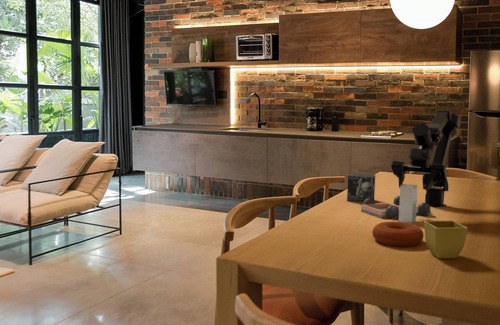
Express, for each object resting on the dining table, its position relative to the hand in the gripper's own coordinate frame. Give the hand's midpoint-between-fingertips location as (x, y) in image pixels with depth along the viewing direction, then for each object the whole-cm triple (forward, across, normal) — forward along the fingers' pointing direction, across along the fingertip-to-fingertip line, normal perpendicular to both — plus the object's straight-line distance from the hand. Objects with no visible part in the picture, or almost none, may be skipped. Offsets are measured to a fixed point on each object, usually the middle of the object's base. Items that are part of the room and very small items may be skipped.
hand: (412, 188), depth 198 cm
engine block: (+10, 0, +4) cm, 11 cm away
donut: (+30, +6, -15) cm, 34 cm away
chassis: (+3, -8, +12) cm, 15 cm away
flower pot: (+36, +21, -20) cm, 46 cm away
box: (-7, -27, +22) cm, 35 cm away
